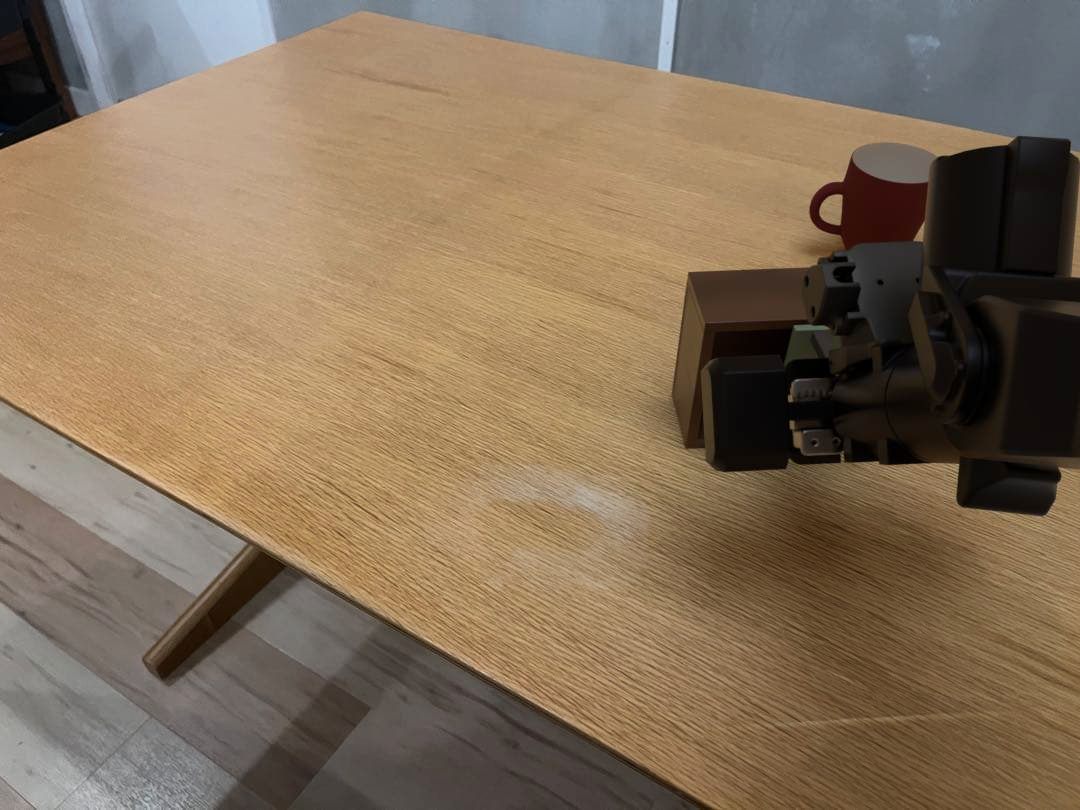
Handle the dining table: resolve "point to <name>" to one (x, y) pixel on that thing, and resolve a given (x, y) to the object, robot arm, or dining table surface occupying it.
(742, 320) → the cabinet
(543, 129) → the dining table surface
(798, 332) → the door
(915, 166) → the mug
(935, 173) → the robot arm
